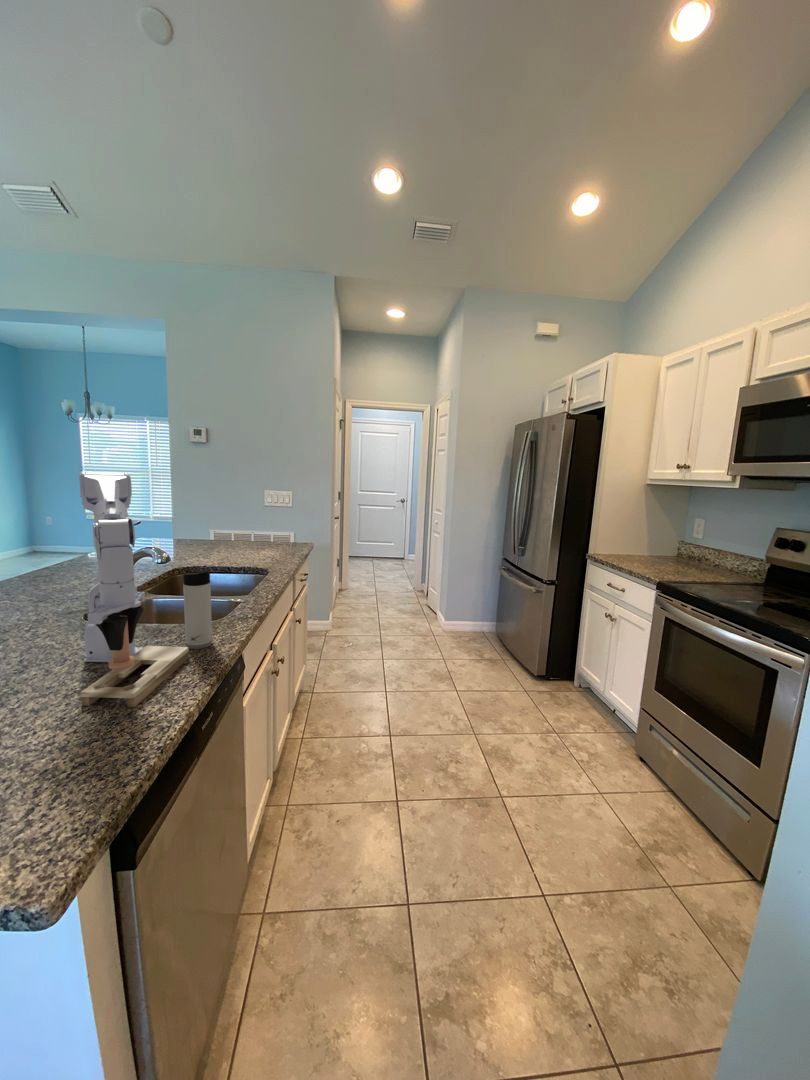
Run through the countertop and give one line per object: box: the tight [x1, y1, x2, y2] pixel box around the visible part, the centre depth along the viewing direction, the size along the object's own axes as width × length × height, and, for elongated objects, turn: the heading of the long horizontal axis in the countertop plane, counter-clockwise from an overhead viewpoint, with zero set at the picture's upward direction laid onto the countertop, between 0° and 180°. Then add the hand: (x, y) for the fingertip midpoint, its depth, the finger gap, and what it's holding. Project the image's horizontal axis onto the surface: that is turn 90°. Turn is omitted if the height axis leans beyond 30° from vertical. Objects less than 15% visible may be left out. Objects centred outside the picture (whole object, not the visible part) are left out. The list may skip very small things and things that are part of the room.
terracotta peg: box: [108, 615, 135, 670], centre depth 86 cm, size 4×4×10 cm
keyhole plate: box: [80, 645, 190, 708], centre depth 94 cm, size 10×22×3 cm, turn 1°
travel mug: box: [182, 570, 213, 650], centre depth 111 cm, size 6×7×20 cm
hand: (121, 646), depth 86 cm, fingers closed on terracotta peg, 3 cm apart
